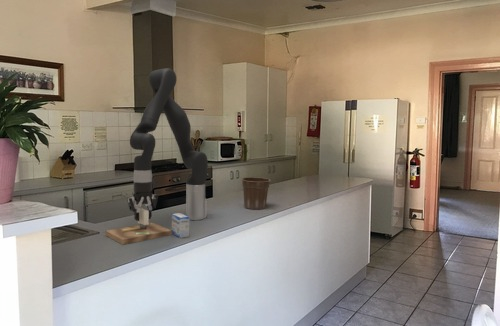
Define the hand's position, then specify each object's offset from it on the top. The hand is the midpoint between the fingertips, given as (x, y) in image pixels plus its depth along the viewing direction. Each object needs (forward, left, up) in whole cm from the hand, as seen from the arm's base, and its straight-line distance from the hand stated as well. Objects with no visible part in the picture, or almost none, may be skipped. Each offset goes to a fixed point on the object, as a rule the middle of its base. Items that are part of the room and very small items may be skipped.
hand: (143, 219), depth 178 cm
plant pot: (-74, -8, -6) cm, 75 cm away
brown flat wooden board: (+3, +2, -6) cm, 7 cm away
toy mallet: (+4, 0, -4) cm, 5 cm away
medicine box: (-11, +12, -6) cm, 17 cm away
